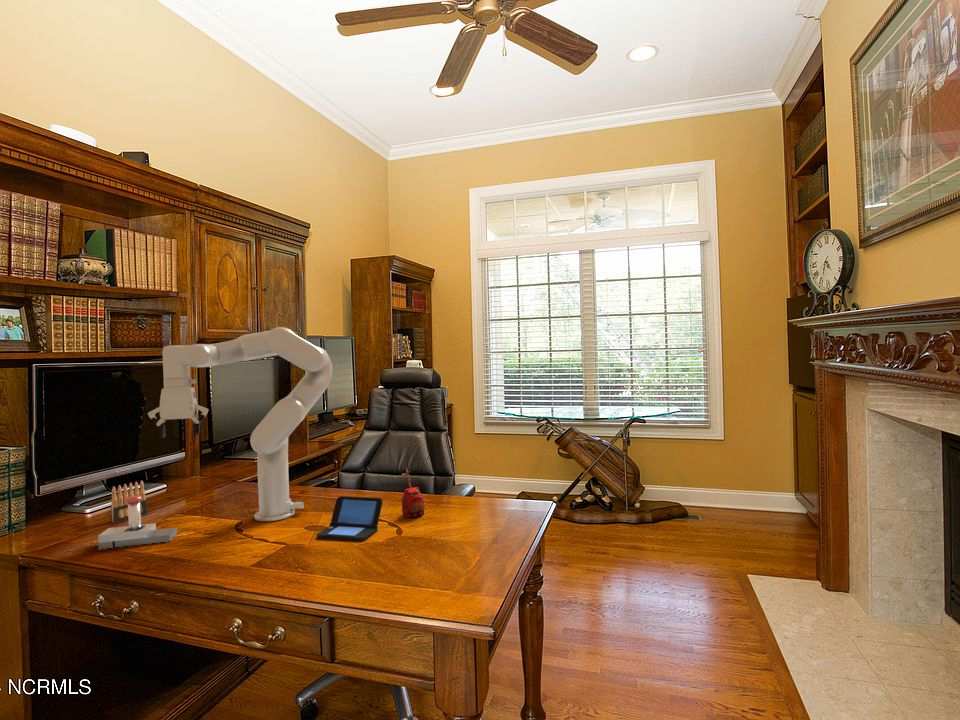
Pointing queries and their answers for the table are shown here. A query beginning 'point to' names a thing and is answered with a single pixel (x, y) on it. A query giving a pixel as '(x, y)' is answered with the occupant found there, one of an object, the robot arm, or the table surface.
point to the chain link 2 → (150, 538)
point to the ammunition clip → (119, 502)
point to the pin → (134, 512)
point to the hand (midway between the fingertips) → (179, 436)
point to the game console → (353, 519)
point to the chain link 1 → (123, 535)
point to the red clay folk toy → (412, 501)
